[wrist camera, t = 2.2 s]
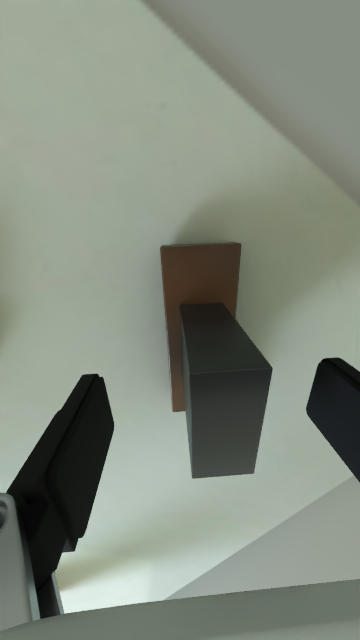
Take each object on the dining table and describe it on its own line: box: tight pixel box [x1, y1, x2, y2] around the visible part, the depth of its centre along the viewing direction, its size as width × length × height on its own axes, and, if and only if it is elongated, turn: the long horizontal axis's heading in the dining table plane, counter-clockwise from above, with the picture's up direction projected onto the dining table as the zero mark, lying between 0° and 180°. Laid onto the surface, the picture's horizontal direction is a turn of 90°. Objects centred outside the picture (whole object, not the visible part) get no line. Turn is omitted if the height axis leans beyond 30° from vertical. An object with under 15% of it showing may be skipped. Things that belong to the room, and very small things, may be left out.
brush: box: [160, 242, 272, 479], centre depth 10 cm, size 11×4×7 cm, turn 2°
